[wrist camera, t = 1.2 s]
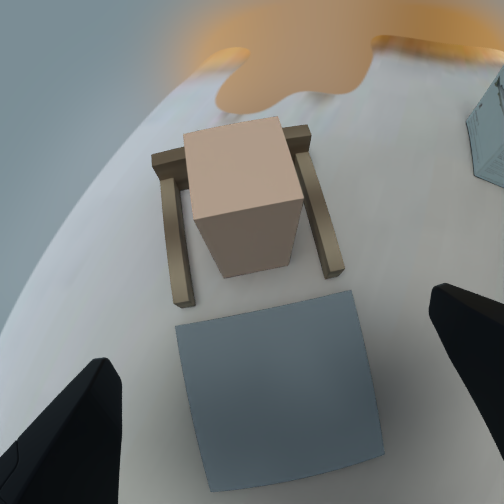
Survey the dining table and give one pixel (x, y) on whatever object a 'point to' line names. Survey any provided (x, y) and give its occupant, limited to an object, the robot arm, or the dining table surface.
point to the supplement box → (489, 133)
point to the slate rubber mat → (280, 392)
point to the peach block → (244, 194)
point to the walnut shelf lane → (176, 178)
